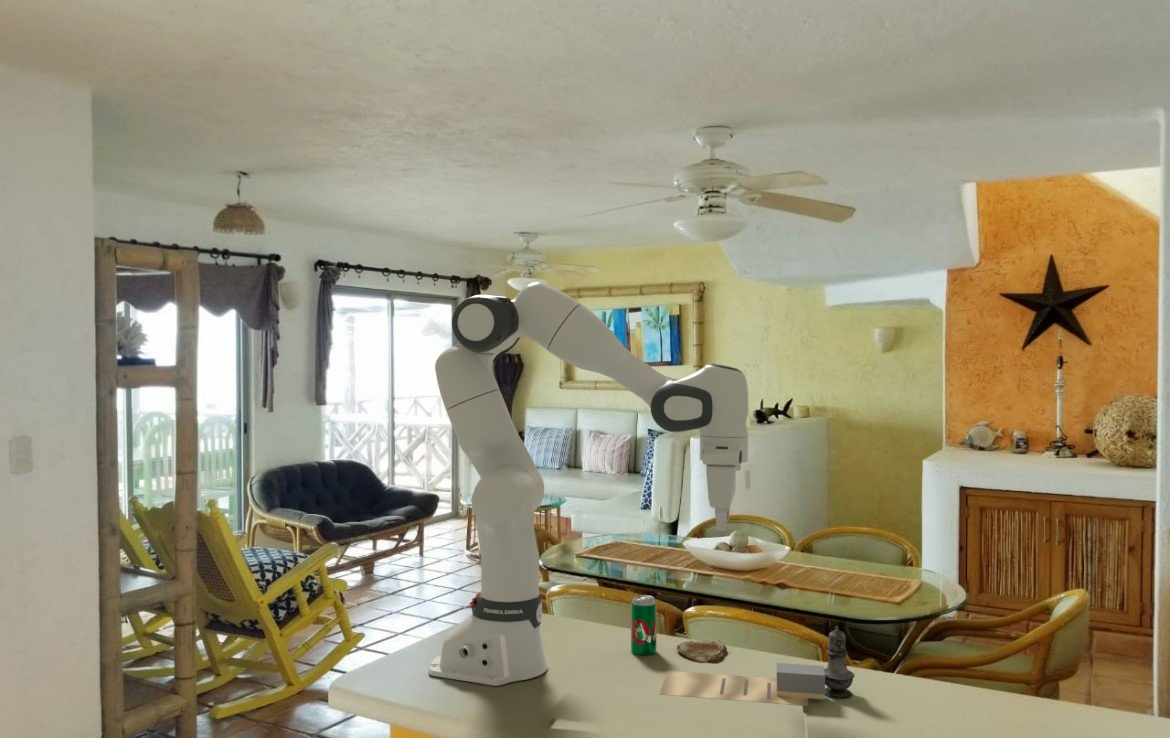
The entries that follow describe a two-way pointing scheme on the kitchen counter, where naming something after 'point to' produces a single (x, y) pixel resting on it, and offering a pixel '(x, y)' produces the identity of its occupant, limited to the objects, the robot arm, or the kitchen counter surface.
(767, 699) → the board
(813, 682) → the block
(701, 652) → the oyster shell
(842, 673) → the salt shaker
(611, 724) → the kitchen counter surface
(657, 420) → the robot arm
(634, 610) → the soda can
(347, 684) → the kitchen counter surface
